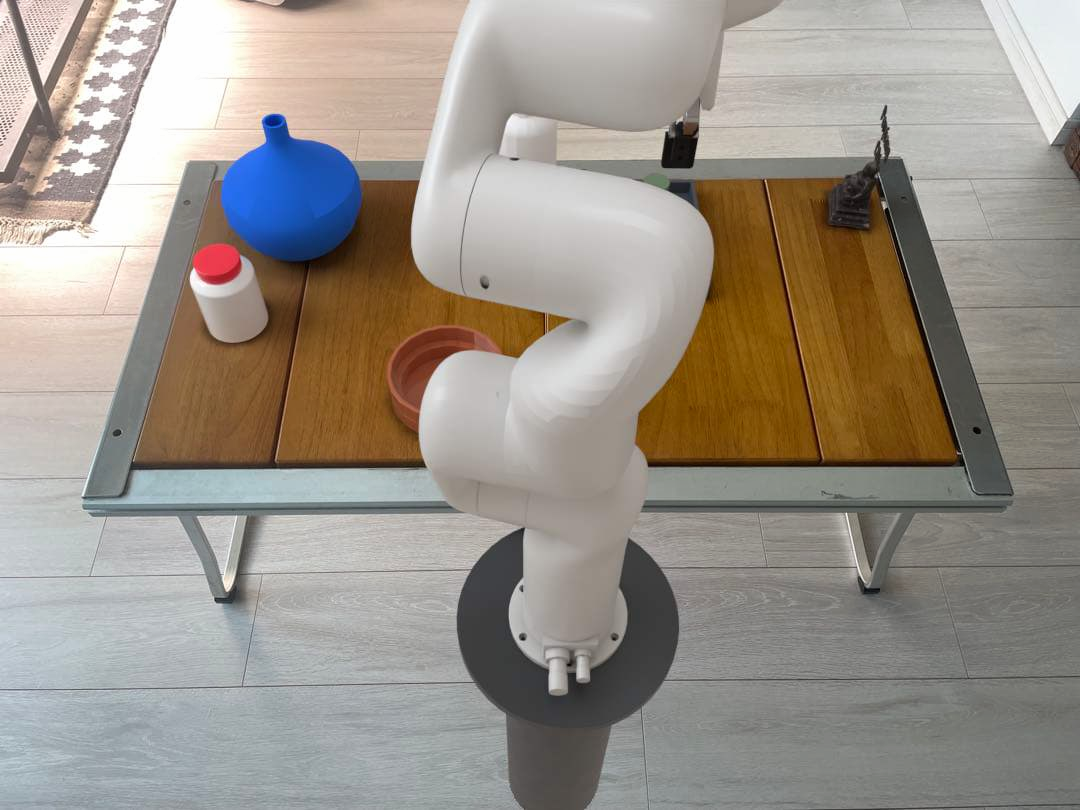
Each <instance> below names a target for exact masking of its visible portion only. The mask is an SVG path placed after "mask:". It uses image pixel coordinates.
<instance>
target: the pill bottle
mask: <svg viewBox="0 0 1080 810" xmlns="http://www.w3.org/2000/svg"><path fill="white" fill-rule="evenodd" d="M192 264H193V268H192V270H191V272H190V275H189V284H190V287H191V290H192V292H193V295H194V298H195V299H196V303H197V306H198V307H199V310H200V313H201V315H202V317H203V321H204V322H205V324H206V327H207V330H208V332H209V333H210V335H211V336H212V337H213V338H215V339H216V340H218V341H220V342H223V343H229V344H234V343H242V342H246V341H250V340H251V339H253V338H255V337H257V336H258V335H259V334H261V332H263V331H264V329H265V328H266V327H267V324H268V322H269V311H268V309H267V305H266V303H265V299H264V296H263V293H262V289H261V286H260V283H259V280H258V277H257V274H256V271H255V267H254V265H253V263H252V262H251V260H250V259H248V258H247V257H246V256H244V255H242V254H240V253H239V250H238V249H237V248H236V247H234V246H233V245H231V244H228V243H227V244H226V243H214V244H210V245H207V246H204V247H203V248H201V249H199V251H197V253H196V254H195V255H194V257H193V260H192Z"/></svg>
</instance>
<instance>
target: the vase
mask: <svg viewBox="0 0 1080 810" xmlns="http://www.w3.org/2000/svg"><path fill="white" fill-rule="evenodd" d="M261 125H262V130H263V133H264V136H265V141H264V143H263V144H261V145H259V146H258V147H256V148H254V149H251V150H249V151H248V152H246V153H244V155H242V156H240V158H238V159H237V160H235V161H234V163H233V164H232V165H231V166H230V167H229V168H228V170H227V171H226V173H225V175H224V178H223V180H222V184H221V191H220V192H221V193H220V204H221V206H222V210H223V213H224V215H225V217H226V219H227V223H228V226H229V227H230V228H231V229H232V230H233V231H234V232H235V233H236V235H238V236H239V237H240V238H241V240H243V241H244V242H245V243H246V244H247V245H248V246H249V247H250V248H252V249H253V250H255V251H257V252H259V254H262V255H265V256H267V257H269V258H272V259H275V260H278V261H279V260H280V261H282V262H304V261H310V260H314V259H317V258H320V257H323V256H325V255H327V254H328V253H330V252H332V251H333V250H334V249H336V248H337V247H338V246H339V245H340V244H342V243H343V242H344V241H345V239H347V237H348V236H349V235H350V233H351V231H352V230H353V229H354V227H355V224H356V221H357V217H358V215H359V211H360V208H361V205H362V201H363V195H362V185H361V178H360V175H359V173H358V171H357V169H356V167H355V165H354V164H353V162H351V160H350V158H348V157H347V155H345V154H344V153H343V152H342V151H341V150H340V149H338V148H336V147H334V146H332V145H330V144H327V143H324V142H320V141H316V140H311V139H300V138H295V137H292V136H291V135H290V131H289V126H288V122H287V118H286V116H285V115H283V114H281V113H270V114H267V115H265V116H264V117H263V118H262V119H261Z"/></svg>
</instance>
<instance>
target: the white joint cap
mask: <svg viewBox="0 0 1080 810" xmlns="http://www.w3.org/2000/svg"><path fill="white" fill-rule="evenodd" d="M558 121H559V120H554V119H547V118H541V117H536V116H530V115H524V114H518V113H514V114H512V115H511V116H510V118H509V119H508V121H507V124H506V127H505V131H504V135H503V139H502V144H501V148H500V153H499V155H503V156H509V157H514V158H520V159H525V160H531V161H536V162H542V163H547V164H553V165H557V154H558V153H557V151H558Z"/></svg>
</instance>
